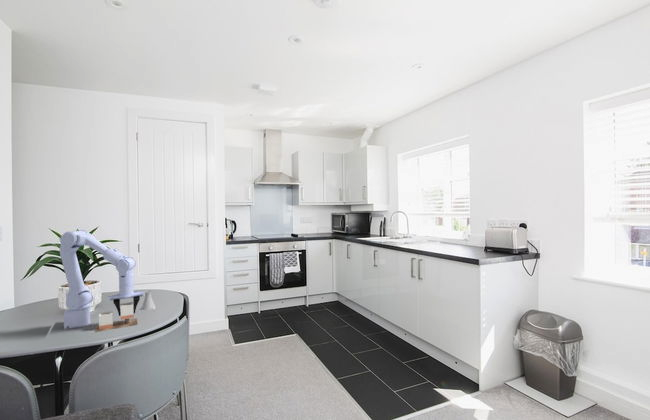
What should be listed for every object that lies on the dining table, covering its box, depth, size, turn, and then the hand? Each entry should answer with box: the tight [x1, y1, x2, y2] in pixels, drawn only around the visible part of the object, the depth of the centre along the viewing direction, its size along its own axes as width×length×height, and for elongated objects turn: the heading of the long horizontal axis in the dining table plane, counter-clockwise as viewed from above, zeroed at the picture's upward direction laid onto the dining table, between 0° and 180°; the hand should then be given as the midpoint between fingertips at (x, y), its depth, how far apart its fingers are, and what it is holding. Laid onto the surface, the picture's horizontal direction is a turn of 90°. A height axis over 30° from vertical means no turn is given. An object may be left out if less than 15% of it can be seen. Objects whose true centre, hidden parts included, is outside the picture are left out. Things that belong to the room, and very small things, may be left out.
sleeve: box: [120, 301, 135, 321], centre depth 150 cm, size 5×5×6 cm
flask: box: [140, 290, 157, 311], centre depth 172 cm, size 7×7×10 cm
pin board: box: [94, 317, 138, 333], centre depth 148 cm, size 16×10×6 cm, turn 122°
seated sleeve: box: [98, 310, 114, 330], centre depth 146 cm, size 5×5×6 cm
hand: (127, 314), depth 150 cm, fingers closed on sleeve, 5 cm apart
